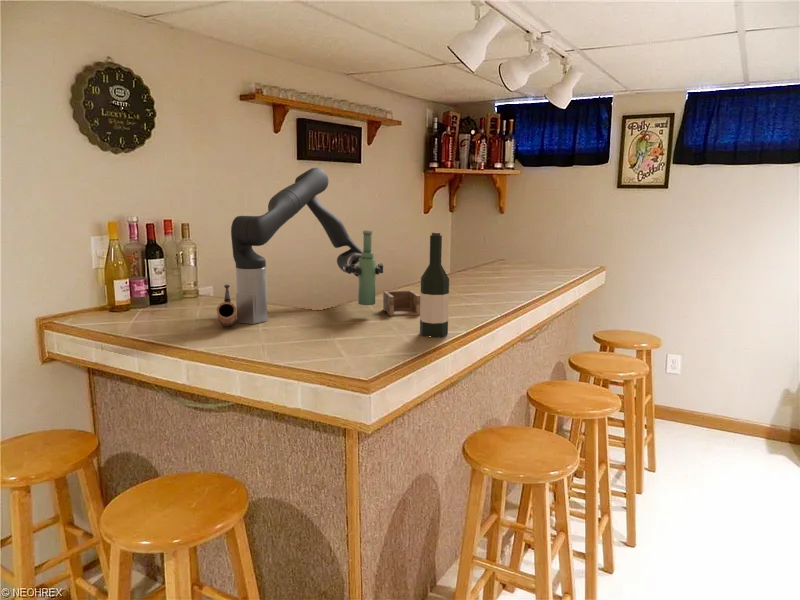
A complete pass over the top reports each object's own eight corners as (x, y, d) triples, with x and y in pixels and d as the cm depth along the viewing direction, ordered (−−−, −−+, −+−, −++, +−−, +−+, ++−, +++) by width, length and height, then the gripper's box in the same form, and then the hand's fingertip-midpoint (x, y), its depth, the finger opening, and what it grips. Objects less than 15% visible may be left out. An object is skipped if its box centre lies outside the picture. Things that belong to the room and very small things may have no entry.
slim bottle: (372, 305, 193) (373, 231, 189) (355, 304, 195) (356, 231, 190) (377, 302, 198) (378, 230, 194) (361, 301, 200) (362, 229, 195)
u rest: (420, 314, 201) (420, 295, 200) (390, 316, 199) (390, 296, 197) (411, 308, 211) (412, 290, 210) (383, 309, 209) (383, 291, 207)
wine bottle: (445, 338, 171) (448, 234, 165) (417, 336, 173) (419, 233, 167) (449, 331, 179) (452, 231, 173) (422, 329, 181) (424, 231, 175)
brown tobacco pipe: (217, 334, 172) (216, 300, 170) (219, 313, 200) (218, 284, 198) (237, 333, 174) (235, 300, 172) (236, 312, 202) (235, 283, 200)
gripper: (338, 254, 206) (346, 260, 190) (379, 254, 209) (390, 259, 193) (338, 275, 207) (346, 283, 191) (378, 275, 211) (390, 282, 195)
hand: (368, 271), depth 192 cm, fingers closed on slim bottle, 5 cm apart
